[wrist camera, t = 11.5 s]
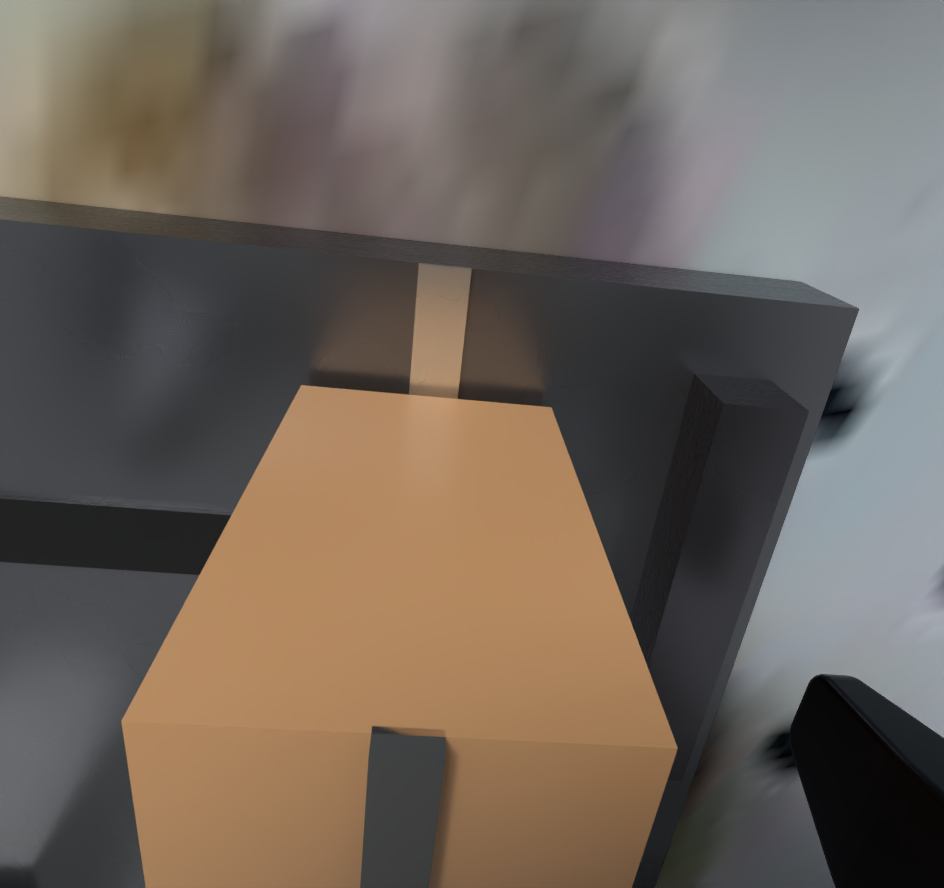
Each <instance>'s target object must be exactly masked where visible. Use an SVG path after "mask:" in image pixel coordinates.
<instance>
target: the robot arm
mask: <svg viewBox="0 0 944 888" xmlns="http://www.w3.org/2000/svg"><path fill="white" fill-rule="evenodd" d="M790 746H791V750H792V754H793V757H794V760H795V763H796V767H797V770H798V773H799V776H800V779H801V782H802V785H803V789H804V792H805V795H806V798H807V801H808V804H809V807H810V811H811V814H812V817H813V820H814V823H815V826H816V829H817V833H818V836H819V839H820V842H821V845H822V848H823V851H824V855H825V858H826V861H827V864H828V867H829V870H830V873H831V876H832V879H833V881H834V884H835V887H836V888H944V738H943V737H941V736H940V735H939V734H937V733H936V732H934V731H933V730H931V729H930V728H928V727H927V726H926V725H924V724H923V723H921V722H920V721H918V720H917V719H915V718H914V717H912V716H911V715H910V714H908V713H907V712H905V711H904V710H902V709H901V708H899V707H898V706H897V705H895V704H894V703H892V702H891V701H889V700H888V699H886V698H885V697H883V696H882V695H881V694H879V693H878V692H876V691H875V690H873V689H872V688H870V687H869V686H867V685H866V684H865V683H863V682H862V681H860V680H859V679H857V678H854V677H851V676H845V675H828V674H820V675H816V676H815V677H814V678H813V679H811V680H810V682H809V684H808V686H807V689H806V691H805V693H804V696H803V698H802V701H801V703H800V705H799V708H798V710H797V712H796V715H795V717H794V720H793V722H792V725H791V729H790Z"/></svg>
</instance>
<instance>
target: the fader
mask: <svg viewBox="0 0 944 888" xmlns="http://www.w3.org/2000/svg"><path fill="white" fill-rule="evenodd" d="M121 722H122V729H123V736H124V743H125V750H126V756H127V763H128V770H129V777H130V784H131V791H132V797H133V804H134V811H135V818H136V825H137V831H138V838H139V845H140V852H141V859H142V866H143V872H144V879H145V886H146V888H632V885H633V882H634V879H635V876H636V873H637V870H638V867H639V864H640V861H641V858H642V855H643V852H644V849H645V846H646V843H647V840H648V837H649V834H650V831H651V828H652V825H653V822H654V819H655V816H656V813H657V810H658V807H659V804H660V801H661V798H662V795H663V792H664V789H665V786H666V783H667V780H668V777H669V774H670V771H671V768H672V765H673V762H674V759H675V755H676V752H677V749H678V748H677V745H676V742H675V739H674V737H673V734H672V731H671V729H670V726H669V723H668V721H667V718H666V715H665V712H664V710H663V707H662V704H661V702H660V699H659V696H658V694H657V691H656V688H655V686H654V683H653V680H652V677H651V675H650V672H649V669H648V667H647V664H646V661H645V659H644V656H643V653H642V650H641V648H640V645H639V642H638V640H637V637H636V634H635V632H634V629H633V626H632V623H631V621H630V618H629V615H628V613H627V610H626V607H625V605H624V602H623V599H622V596H621V594H620V591H619V588H618V586H617V583H616V580H615V578H614V575H613V572H612V569H611V567H610V564H609V561H608V559H607V556H606V553H605V551H604V548H603V545H602V542H601V540H600V537H599V534H598V532H597V529H596V526H595V524H594V521H593V518H592V515H591V513H590V510H589V507H588V505H587V502H586V499H585V497H584V494H583V491H582V489H581V486H580V483H579V480H578V478H577V475H576V472H575V470H574V467H573V464H572V462H571V459H570V456H569V453H568V451H567V448H566V445H565V443H564V440H563V437H562V435H561V432H560V429H559V426H558V424H557V421H556V418H555V416H554V413H553V410H552V408H551V407H542V406H531V405H520V404H509V403H497V402H486V401H475V400H463V399H452V398H441V397H430V396H418V395H407V394H396V393H384V392H373V391H362V390H351V389H339V388H328V387H317V386H305V385H301V386H300V388H299V390H298V392H297V394H296V396H295V398H294V400H293V401H292V403H291V405H290V407H289V409H288V411H287V413H286V414H285V416H284V418H283V420H282V422H281V424H280V426H279V428H278V429H277V431H276V433H275V435H274V437H273V439H272V441H271V442H270V444H269V446H268V448H267V450H266V452H265V454H264V456H263V457H262V459H261V461H260V463H259V465H258V467H257V469H256V470H255V472H254V474H253V476H252V478H251V480H250V482H249V484H248V485H247V487H246V489H245V491H244V493H243V495H242V497H241V498H240V500H239V502H238V504H237V506H236V508H235V510H234V512H233V513H232V515H231V517H230V519H229V521H228V523H227V525H226V527H225V528H224V530H223V532H222V534H221V536H220V538H219V540H218V541H217V543H216V545H215V547H214V549H213V551H212V553H211V555H210V556H209V558H208V560H207V562H206V564H205V566H204V568H203V569H202V571H201V573H200V575H199V577H198V579H197V581H196V583H195V584H194V586H193V588H192V590H191V592H190V594H189V596H188V597H187V599H186V601H185V603H184V605H183V607H182V609H181V611H180V612H179V614H178V616H177V618H176V620H175V622H174V624H173V625H172V627H171V629H170V631H169V633H168V635H167V637H166V639H165V640H164V642H163V644H162V646H161V648H160V650H159V652H158V654H157V655H156V657H155V659H154V661H153V663H152V665H151V667H150V668H149V670H148V672H147V674H146V676H145V678H144V680H143V682H142V683H141V685H140V687H139V689H138V691H137V693H136V695H135V696H134V698H133V700H132V702H131V704H130V706H129V708H128V710H127V711H126V713H125V715H124V717H123V719H122V721H121Z"/></svg>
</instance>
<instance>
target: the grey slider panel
mask: <svg viewBox="0 0 944 888" xmlns="http://www.w3.org/2000/svg"><path fill="white" fill-rule="evenodd" d="M858 311H859V308H857V307H855V306H852V305H850V304H848V303H846V302H844V301H841V300H839V299H837V298H835V297H833V296H831V295H828V294H826V293H824V292H822V291H820V290H818V289H815V288H813V287H811V286H809V285H807V284H804V283H802V282H798V281H788V280H779V279H769V278H760V277H751V276H741V275H732V274H723V273H713V272H704V271H694V270H685V269H676V268H666V267H657V266H647V265H638V264H629V263H619V262H610V261H601V260H591V259H582V258H572V257H563V256H554V255H544V254H535V253H525V252H516V251H507V250H497V249H488V248H478V247H469V246H460V245H450V244H441V243H432V242H422V241H413V240H403V239H394V238H385V237H375V236H366V235H356V234H347V233H338V232H328V231H319V230H309V229H300V228H291V227H281V226H272V225H263V224H253V223H244V222H234V221H225V220H216V219H206V218H197V217H187V216H178V215H169V214H159V213H150V212H141V211H131V210H122V209H112V208H103V207H94V206H84V205H75V204H65V203H56V202H47V201H37V200H28V199H18V198H9V197H0V888H146V886H145V879H144V872H143V866H142V859H141V852H140V845H139V838H138V831H137V825H136V818H135V811H134V804H133V797H132V791H131V784H130V777H129V770H128V763H127V756H126V750H125V743H124V736H123V729H122V722H121V721H122V719H123V717H124V715H125V713H126V711H127V710H128V708H129V706H130V704H131V702H132V700H133V698H134V696H135V695H136V693H137V691H138V689H139V687H140V685H141V683H142V682H143V680H144V678H145V676H146V674H147V672H148V670H149V668H150V667H151V665H152V663H153V661H154V659H155V657H156V655H157V654H158V652H159V650H160V648H161V646H162V644H163V642H164V640H165V639H166V637H167V635H168V633H169V631H170V629H171V627H172V625H173V624H174V622H175V620H176V618H177V616H178V614H179V612H180V611H181V609H182V607H183V605H184V603H185V601H186V599H187V597H188V596H189V594H190V592H191V590H192V588H193V586H194V584H195V583H196V581H197V579H198V577H199V575H200V573H201V571H202V569H203V568H204V566H205V564H206V562H207V560H208V558H209V556H210V555H211V553H212V551H213V549H214V547H215V545H216V543H217V541H218V540H219V538H220V536H221V534H222V532H223V530H224V528H225V527H226V525H227V523H228V521H229V519H230V517H231V515H232V513H233V512H234V510H235V508H236V506H237V504H238V502H239V500H240V498H241V497H242V495H243V493H244V491H245V489H246V487H247V485H248V484H249V482H250V480H251V478H252V476H253V474H254V472H255V470H256V469H257V467H258V465H259V463H260V461H261V459H262V457H263V456H264V454H265V452H266V450H267V448H268V446H269V444H270V442H271V441H272V439H273V437H274V435H275V433H276V431H277V429H278V428H279V426H280V424H281V422H282V420H283V418H284V416H285V414H286V413H287V411H288V409H289V407H290V405H291V403H292V401H293V400H294V398H295V396H296V394H297V392H298V390H299V388H300V386H301V385H305V386H317V387H328V388H339V389H351V390H362V391H373V392H384V393H396V394H407V395H418V396H430V397H441V398H452V399H463V400H475V401H486V402H497V403H509V404H520V405H531V406H542V407H551V408H552V410H553V413H554V416H555V418H556V421H557V424H558V426H559V429H560V432H561V435H562V437H563V440H564V443H565V445H566V448H567V451H568V453H569V456H570V459H571V462H572V464H573V467H574V470H575V472H576V475H577V478H578V480H579V483H580V486H581V489H582V491H583V494H584V497H585V499H586V502H587V505H588V507H589V510H590V513H591V515H592V518H593V521H594V524H595V526H596V529H597V532H598V534H599V537H600V540H601V542H602V545H603V548H604V551H605V553H606V556H607V559H608V561H609V564H610V567H611V569H612V572H613V575H614V578H615V580H616V583H617V586H618V588H619V591H620V594H621V596H622V599H623V602H624V605H625V607H626V610H627V613H628V615H629V618H630V621H631V623H632V626H633V629H634V632H635V634H636V637H637V640H638V642H639V645H640V648H641V650H642V653H643V656H644V659H645V661H646V664H647V667H648V669H649V672H650V675H651V677H652V680H653V683H654V686H655V688H656V691H657V694H658V696H659V699H660V702H661V704H662V707H663V710H664V712H665V715H666V718H667V721H668V723H669V726H670V729H671V731H672V734H673V737H674V739H675V742H676V745H677V748H678V749H677V752H676V755H675V759H674V762H673V765H672V768H671V771H670V774H669V777H668V780H667V783H666V786H665V789H664V792H663V795H662V798H661V801H660V804H659V807H658V810H657V813H656V816H655V819H654V822H653V825H652V828H651V831H650V834H649V837H648V840H647V843H646V846H645V849H644V852H643V855H642V858H641V861H640V864H639V867H638V870H637V873H636V876H635V879H634V882H633V885H632V888H655V885H656V882H657V880H658V877H659V874H660V871H661V868H662V865H663V863H664V860H665V857H666V854H667V851H668V849H669V846H670V843H671V840H672V837H673V834H674V832H675V829H676V826H677V823H678V820H679V817H680V815H681V812H682V809H683V806H684V803H685V800H686V798H687V795H688V792H689V789H690V786H691V783H692V781H693V778H694V775H695V772H696V769H697V766H698V764H699V761H700V758H701V755H702V752H703V750H704V747H705V744H706V741H707V738H708V735H709V733H710V730H711V727H712V724H713V721H714V718H715V716H716V713H717V710H718V707H719V704H720V701H721V699H722V696H723V693H724V690H725V687H726V684H727V682H728V679H729V676H730V673H731V670H732V667H733V665H734V662H735V659H736V656H737V653H738V650H739V648H740V645H741V642H742V639H743V636H744V634H745V631H746V628H747V625H748V622H749V619H750V617H751V614H752V611H753V608H754V605H755V602H756V600H757V597H758V594H759V591H760V588H761V585H762V583H763V580H764V577H765V574H766V571H767V568H768V566H769V563H770V560H771V557H772V554H773V551H774V549H775V546H776V543H777V540H778V537H779V534H780V532H781V529H782V526H783V523H784V520H785V518H786V515H787V512H788V509H789V506H790V503H791V501H792V498H793V495H794V492H795V489H796V486H797V484H798V481H799V478H800V475H801V472H802V469H803V467H804V464H805V461H806V458H807V455H808V452H809V450H810V447H811V444H812V441H813V438H814V435H815V433H816V430H817V427H818V424H819V421H820V418H821V416H822V413H823V410H824V407H825V404H826V402H827V399H828V396H829V393H830V390H831V387H832V385H833V382H834V379H835V376H836V373H837V370H838V368H839V365H840V362H841V359H842V356H843V353H844V351H845V348H846V345H847V342H848V339H849V336H850V334H851V331H852V328H853V325H854V322H855V319H856V317H857V314H858Z"/></svg>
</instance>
